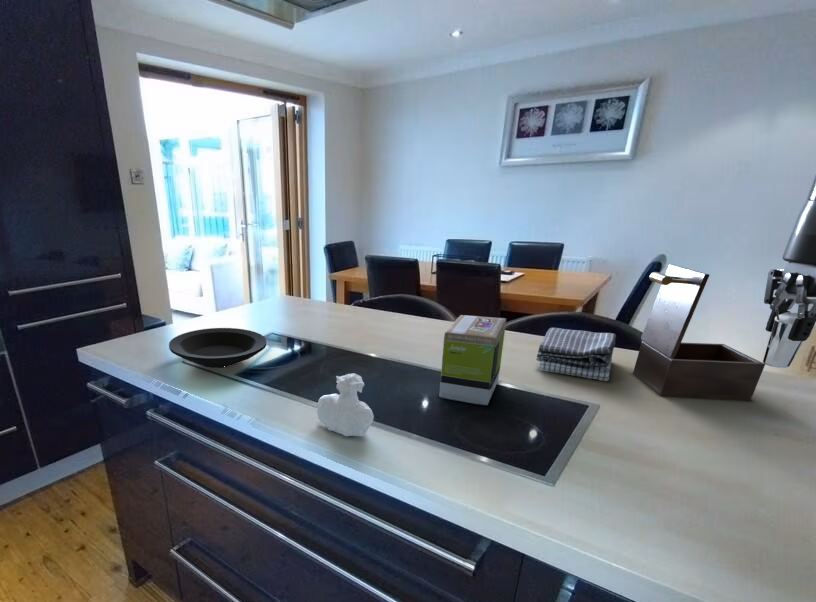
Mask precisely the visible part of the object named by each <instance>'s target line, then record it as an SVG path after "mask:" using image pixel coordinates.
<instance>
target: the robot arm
mask: <svg viewBox="0 0 816 602" xmlns="http://www.w3.org/2000/svg"><path fill="white" fill-rule="evenodd" d="M800 209H801V210H800V211H799V213H798V215H797V217H796V220H795V223H794V226H793V228H792V231H791V233H790V235H789V239H788V241H787V244H786V246H785V249H784V252H783V254H782V256H781V257H782V260H783V261H785V262H787V264H786V265H785V267H784V268H775V269H772V268H771V269H770V270H769V271H768V273H767V278H766V279H767V280H766V285H765V292H764V298H763V303H764V304H765V305H769V309H770V310H771V311H770V314H769V317H768V319H767V322H766V326H765V331H766V332H768V333H771V332H772V328H773V323H774V320H775V317H776V316H777V315H776V309H778V313H779V315H780V314H783V313H786V312H790V313H791V311H790V310H791V309H793V307H794V306H795V304H796V305H797V306H798V307H797V313H798V314H797V317H798V318H796V319H795V321H794V324H793V326H792V329H791V331H790V334H789V336H788V339H789V340H792V341H803V342H805V341H807V340H808V339H809V338H810V337H811V334H812V331H813V329H814V327H815V324H816V174H815V176H814V178H813V181H812V183H811V186H810V189H809V192H808V194H807V197H806V200H805V202H804V204H803V206H802V208H800ZM810 305H812V306H811V308H810V309H809V306H810Z"/></svg>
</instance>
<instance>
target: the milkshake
mask: <svg viewBox="0 0 816 602" xmlns="http://www.w3.org/2000/svg"><path fill="white" fill-rule="evenodd" d="M797 314H798V312H791V311H790V312H786V313H783V314H780V315H779V313H778V309H776V315H777V316H776V317H775V320H774V323H773V328H772V332H770V335H769V339H768V342H767V346H766V349H765V352H764V356H763V360H762V363H764V364H765V366H768V367H772V368H779V369H780V368H781V369H786V368H789V367H790V366H791V364H792V363H793V360H794V359H795V357H796V355H797V354H798V351H799V349H800V348H801V346H802V344H803V342H804V341H792V340H789V339H788V336H789V334H790V331H791V329H792V326H793V324H794V321H795V319H796V318H798V317H797Z"/></svg>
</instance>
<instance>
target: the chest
mask: <svg viewBox="0 0 816 602" xmlns="http://www.w3.org/2000/svg"><path fill="white" fill-rule="evenodd" d="M765 366H766V364H764V363H763V361H760V360H758V359H756V358H754V357H752V356H749V355H747V354H745V353H744V352H741V351H739V350H737V349H735V348H732V347H730V346H729V345H726V344H724V343H710V342H709V343H708V342H681V344H680V346H679V349H678V351H677V353H676V356H675V358H670V357H668V356H667V355H665V354H664V353H662V352H660V351H659V350H657V349H656V348H654V347H653V346H651V345H649V344H648V343H646V342H645V341H643V340H641V344H640V347H639V351H638V353H637V357H636V361H635V365H634V368H633V371H632V374H633V375H634V376H636V377H637V378H638V379H639V380H640V381H641V382H643V383H644V384H645V385H646V386H648V387H649V388H650V389H651V390H653V391H654V392H655V393H656V394H658V395H659V396H660V397H677V398H691V399H692V398H694V399H713V400H729V401H746V402H749V401H751V400H752V398H753V396H754V393H755V391H756V388H757V386H758V383H759V382H760V381H759V380H760V379H761V376H762V374H763V371H764V368H765Z"/></svg>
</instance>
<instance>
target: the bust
mask: <svg viewBox="0 0 816 602" xmlns="http://www.w3.org/2000/svg"><path fill="white" fill-rule="evenodd" d="M335 379H336V383H337V384H336V387H335V389H336V390H337V391H338V392H339V394H338V393H331V394H325V395H322V396H321V397H320V398H319V399H318V402H317V403H316V416H317V419H318V420H319V422H320V423H321V424H323V425H324V426H325V427H326V428H327V429H328V431H332V432H334V433H337V434H341V435H342V436H344V437H352V436H353V437H365V435H366V434H367V433H368V430H369V429H370V426H371V425H372V424H373V422H374V419H375V415H374V412H373V410H372V408H370V406H369V405H368V404H367V403H366V402H364V401H361V400H359V396H358V393H363V388H364V387H365V382H364V381H363V377H362V376H361V375H359V374H358V373H357V374H356V373H355V372H354V373H346V374H345V375H341V376H339V375H336V376H335Z"/></svg>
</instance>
